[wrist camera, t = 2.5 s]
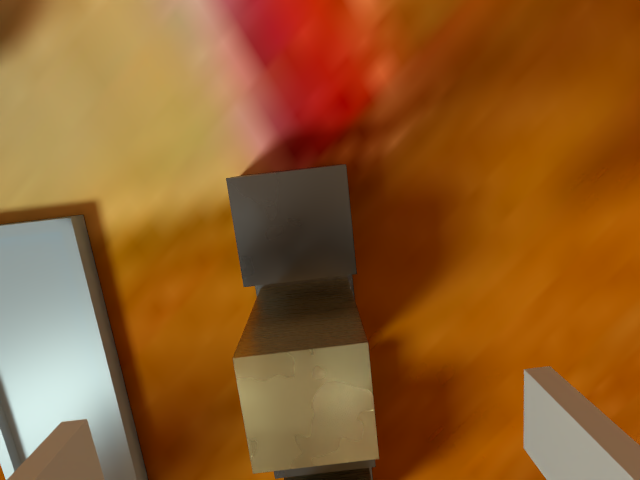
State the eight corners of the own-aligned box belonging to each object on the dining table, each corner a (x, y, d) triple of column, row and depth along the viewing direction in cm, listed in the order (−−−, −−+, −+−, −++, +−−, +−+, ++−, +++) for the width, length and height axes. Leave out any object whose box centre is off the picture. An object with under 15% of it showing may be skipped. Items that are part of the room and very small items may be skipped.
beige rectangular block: (355, 357, 20) (379, 458, 13) (272, 367, 20) (253, 473, 13) (347, 278, 19) (367, 342, 12) (260, 288, 19) (232, 358, 12)
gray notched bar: (382, 579, 24) (392, 638, 21) (303, 588, 24) (303, 648, 21) (340, 164, 18) (346, 164, 15) (239, 176, 18) (226, 178, 15)
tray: (156, 512, 22) (149, 528, 21) (39, 526, 22) (27, 542, 21) (83, 214, 19) (70, 217, 18) (-57, 230, 19) (-78, 234, 18)
